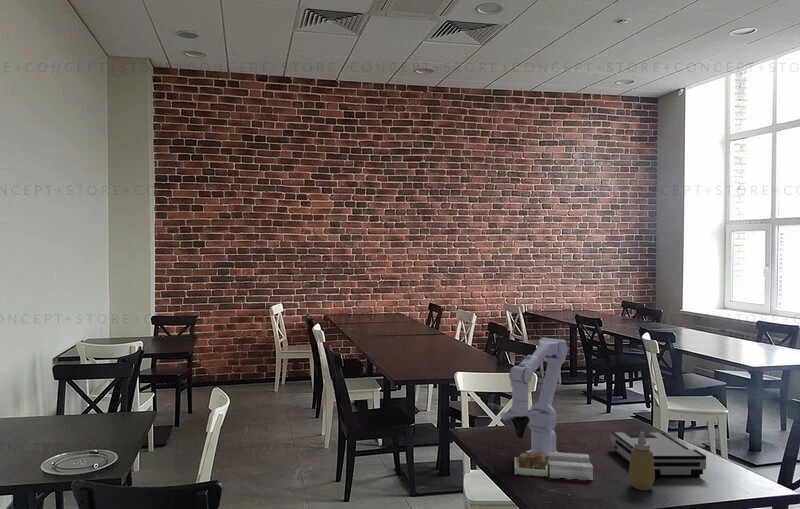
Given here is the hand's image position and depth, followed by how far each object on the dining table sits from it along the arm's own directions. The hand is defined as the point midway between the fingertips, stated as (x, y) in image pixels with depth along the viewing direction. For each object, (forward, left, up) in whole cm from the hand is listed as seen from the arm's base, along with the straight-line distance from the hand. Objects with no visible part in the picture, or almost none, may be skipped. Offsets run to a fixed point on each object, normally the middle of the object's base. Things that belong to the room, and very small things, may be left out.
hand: (519, 437), depth 225 cm
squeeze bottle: (-13, +40, -10) cm, 43 cm away
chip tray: (+2, +7, -9) cm, 12 cm away
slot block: (-7, +17, -9) cm, 20 cm away
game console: (-39, +30, -10) cm, 51 cm away
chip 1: (+1, +6, -7) cm, 9 cm away
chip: (-1, +9, -8) cm, 12 cm away
